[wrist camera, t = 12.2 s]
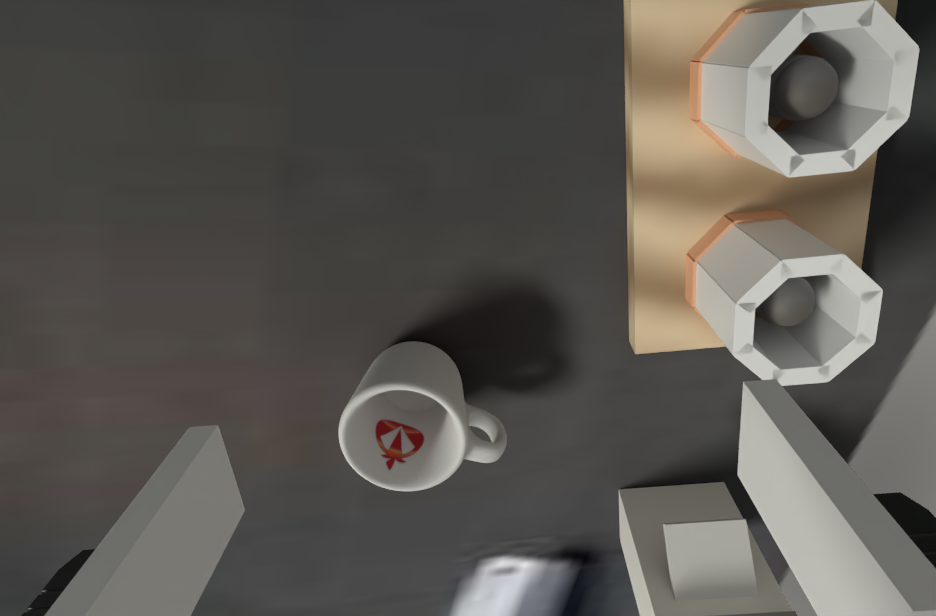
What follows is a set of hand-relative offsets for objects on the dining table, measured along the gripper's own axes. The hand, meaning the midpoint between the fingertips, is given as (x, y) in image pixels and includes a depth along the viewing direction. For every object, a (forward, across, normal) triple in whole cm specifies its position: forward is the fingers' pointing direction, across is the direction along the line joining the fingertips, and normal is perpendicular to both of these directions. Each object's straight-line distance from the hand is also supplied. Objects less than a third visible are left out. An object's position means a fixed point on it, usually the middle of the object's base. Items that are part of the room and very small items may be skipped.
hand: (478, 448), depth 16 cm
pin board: (+27, +16, 0) cm, 31 cm away
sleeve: (+25, +16, -6) cm, 30 cm away
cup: (+27, -5, -13) cm, 30 cm away
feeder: (+27, +12, -24) cm, 38 cm away
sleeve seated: (+25, +16, +6) cm, 30 cm away
